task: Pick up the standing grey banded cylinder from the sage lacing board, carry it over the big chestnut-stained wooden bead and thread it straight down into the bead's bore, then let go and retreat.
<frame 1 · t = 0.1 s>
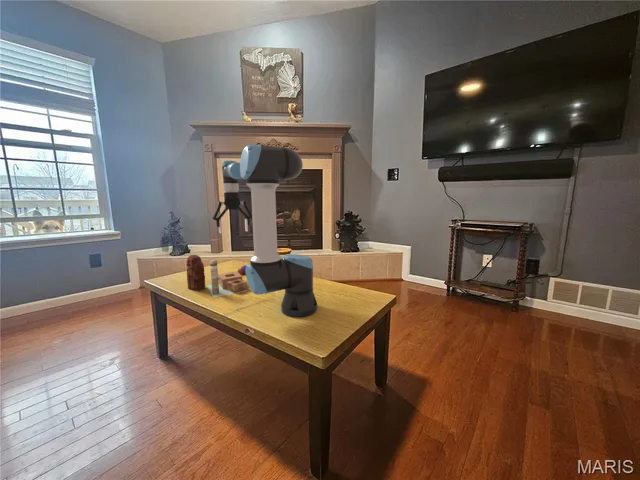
hand: (233, 232, 138), 28 cm above the table, fingers open, 13 cm apart
bead board: (226, 289, 132), on the table
wooden figurine: (196, 290, 132), on the table
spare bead: (237, 289, 129), point 1 cm above the table, touching bead board
kendama: (235, 278, 151), on the table
grey banded cylinder: (215, 293, 124), point 1 cm above the table, touching bead board
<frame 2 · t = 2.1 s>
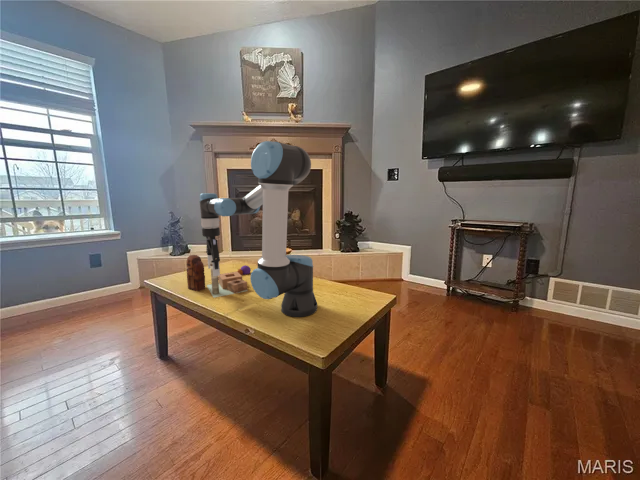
hand: (213, 271, 123), 12 cm above the table, fingers open, 13 cm apart
nothing on the table moved.
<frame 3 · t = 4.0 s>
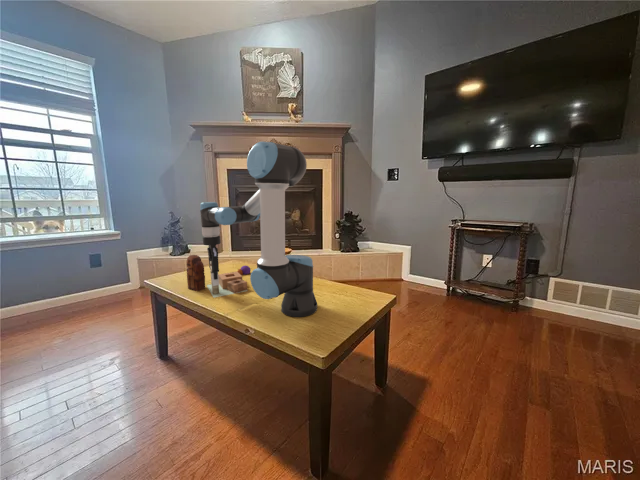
hand: (215, 284, 124), 6 cm above the table, fingers closed on grey banded cylinder, 3 cm apart
grey banded cylinder: (215, 293, 124), point 1 cm above the table, touching gripper
everything else where it was.
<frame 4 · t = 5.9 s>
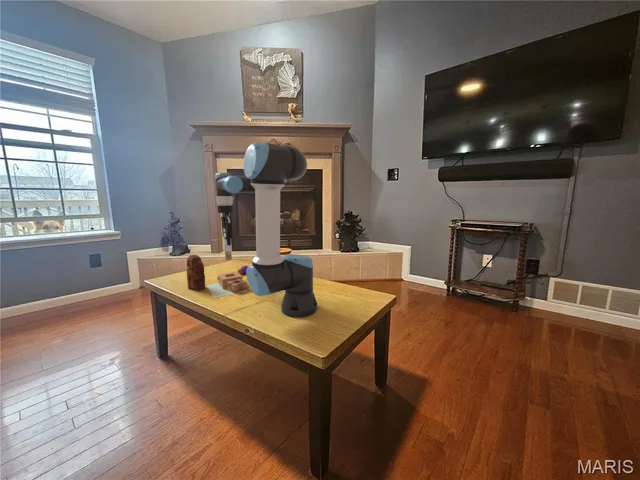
hand: (228, 250, 133), 19 cm above the table, fingers closed on grey banded cylinder, 3 cm apart
grey banded cylinder: (228, 259, 134), point 15 cm above the table, touching gripper
everything else where it was.
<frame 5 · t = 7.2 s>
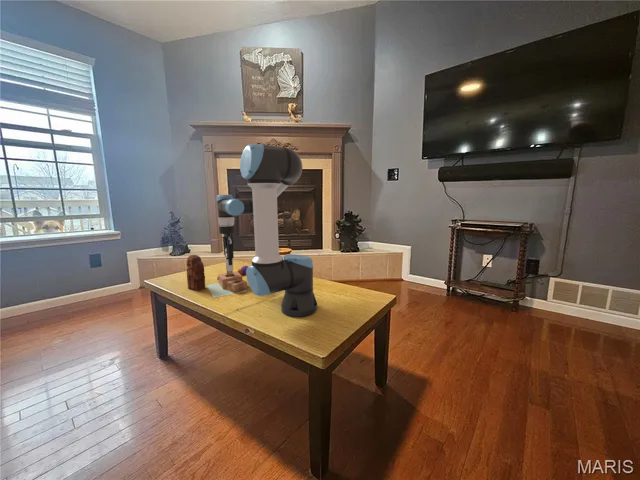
hand: (229, 269, 135), 9 cm above the table, fingers closed on grey banded cylinder, 3 cm apart
grey banded cylinder: (230, 278, 136), point 4 cm above the table, touching gripper
everything else where it was.
when the fingers open (8 cm above the table, at t = 8.2 s): grey banded cylinder drops 2 cm, resting on bead board.
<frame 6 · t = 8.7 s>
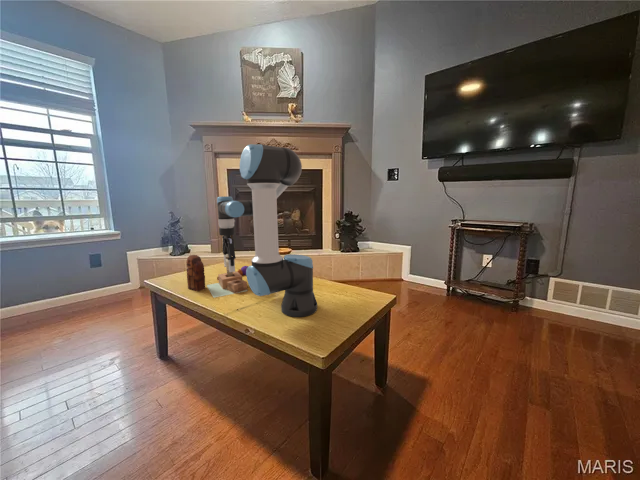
hand: (229, 269, 135), 9 cm above the table, fingers open, 10 cm apart
grey banded cylinder: (230, 284, 136), point 1 cm above the table, touching bead board
everything else where it was.
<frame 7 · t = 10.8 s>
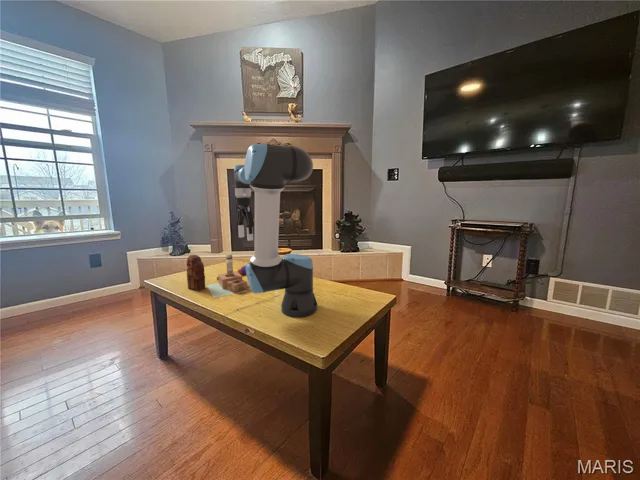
hand: (245, 238, 133), 25 cm above the table, fingers open, 13 cm apart
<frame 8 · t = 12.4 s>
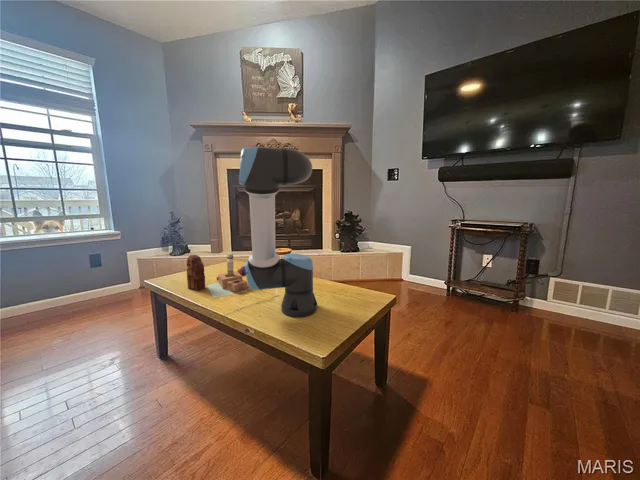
hand: (261, 235, 135), 27 cm above the table, fingers open, 13 cm apart
nothing on the table moved.
at the end: grey banded cylinder 0.1 cm from the target spot on the bead board, point 1.1 cm above the bead board's base; grey banded cylinder tilted 4°; the gripper is holding nothing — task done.
